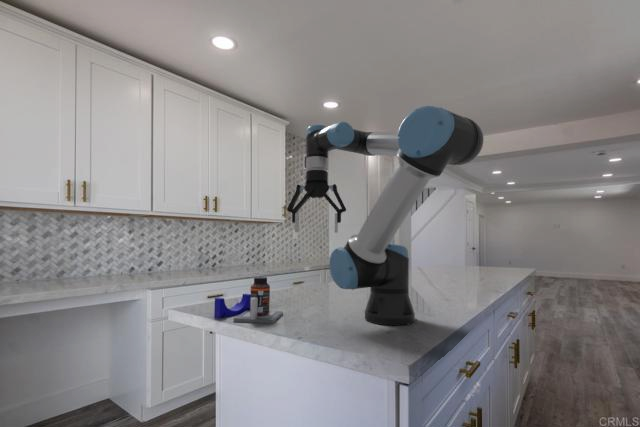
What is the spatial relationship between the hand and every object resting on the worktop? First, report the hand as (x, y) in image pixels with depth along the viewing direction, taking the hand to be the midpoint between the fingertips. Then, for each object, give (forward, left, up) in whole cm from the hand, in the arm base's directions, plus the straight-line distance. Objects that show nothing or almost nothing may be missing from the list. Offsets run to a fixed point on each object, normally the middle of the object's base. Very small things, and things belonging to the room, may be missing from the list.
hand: (316, 232), depth 117 cm
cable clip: (+26, +7, -27) cm, 39 cm away
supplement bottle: (+16, +11, -26) cm, 32 cm away
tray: (+16, +11, -27) cm, 33 cm away
